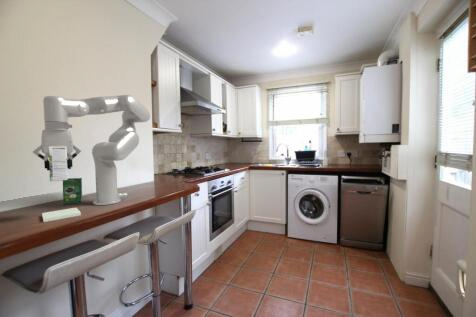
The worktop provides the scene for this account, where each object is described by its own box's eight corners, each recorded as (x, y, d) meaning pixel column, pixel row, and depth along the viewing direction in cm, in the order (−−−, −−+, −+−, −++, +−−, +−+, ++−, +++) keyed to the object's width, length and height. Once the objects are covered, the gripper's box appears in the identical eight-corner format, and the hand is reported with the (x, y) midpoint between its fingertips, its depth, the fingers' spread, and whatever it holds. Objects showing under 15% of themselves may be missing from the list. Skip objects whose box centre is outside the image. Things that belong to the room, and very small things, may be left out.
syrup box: (51, 180, 94) (49, 146, 93) (68, 178, 97) (67, 145, 96) (49, 181, 89) (47, 145, 88) (68, 180, 92) (66, 145, 92)
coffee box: (83, 201, 118) (81, 177, 118) (82, 202, 116) (81, 177, 115) (64, 203, 115) (63, 178, 114) (63, 204, 112) (61, 179, 111)
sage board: (76, 210, 102) (76, 207, 102) (80, 215, 94) (80, 212, 94) (42, 215, 94) (41, 213, 94) (43, 222, 86) (43, 219, 86)
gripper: (80, 128, 101) (82, 167, 102) (28, 126, 88) (30, 170, 90) (83, 127, 95) (85, 168, 96) (28, 125, 83) (31, 172, 84)
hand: (59, 169), depth 93 cm, fingers closed on syrup box, 6 cm apart
